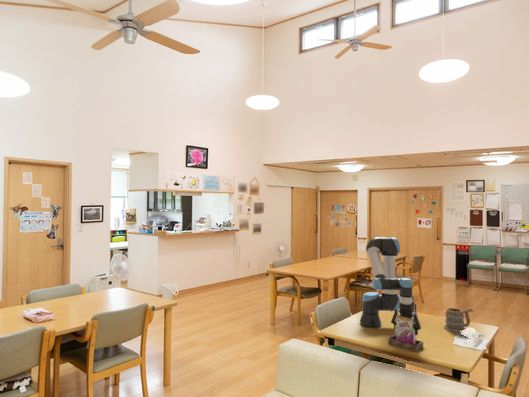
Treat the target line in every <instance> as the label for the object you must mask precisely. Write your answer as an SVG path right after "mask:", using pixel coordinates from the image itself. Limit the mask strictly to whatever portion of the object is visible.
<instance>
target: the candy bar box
mask: <svg viewBox="0 0 529 397" xmlns="http://www.w3.org/2000/svg"><path fill="white" fill-rule="evenodd" d="M395 321H396V340H398V341H401V342H405V343H408V344H412V345H414V344H415V343H416V340H417V339H416V340H415V341H414V340H413V330H414V323H415V320H414V317H412V318H411V317H410V319H409V318H407V317H403V316H400V313H398V314H397V316H396V319H395ZM415 324H416V323H415Z"/></svg>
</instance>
